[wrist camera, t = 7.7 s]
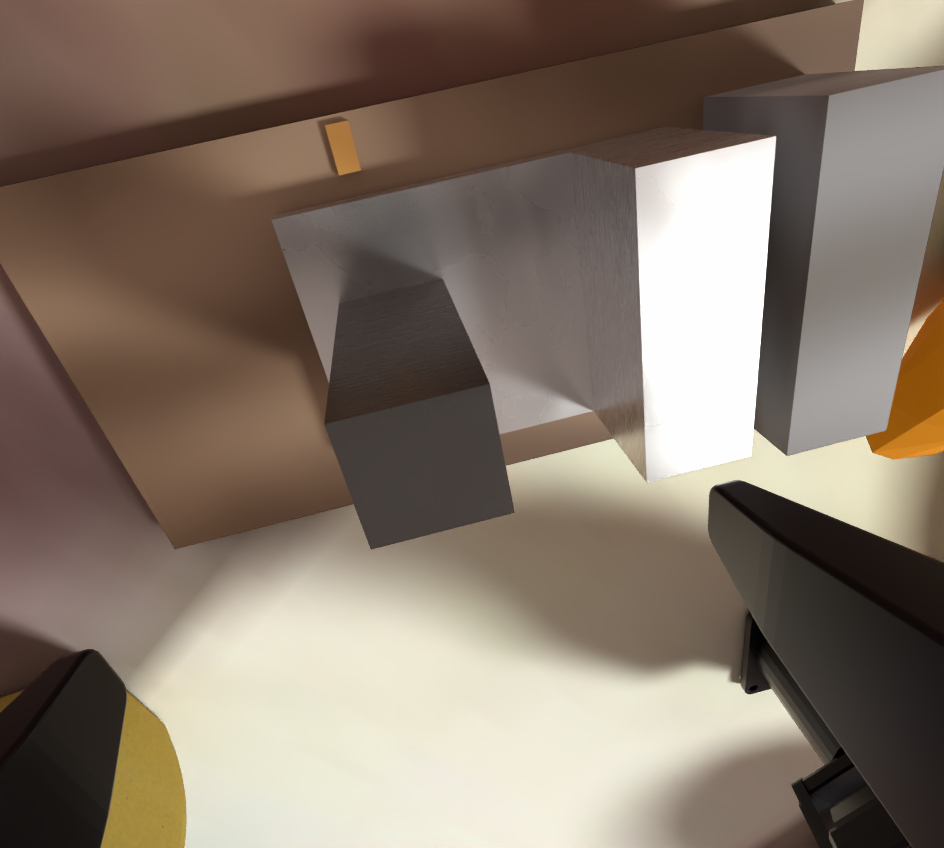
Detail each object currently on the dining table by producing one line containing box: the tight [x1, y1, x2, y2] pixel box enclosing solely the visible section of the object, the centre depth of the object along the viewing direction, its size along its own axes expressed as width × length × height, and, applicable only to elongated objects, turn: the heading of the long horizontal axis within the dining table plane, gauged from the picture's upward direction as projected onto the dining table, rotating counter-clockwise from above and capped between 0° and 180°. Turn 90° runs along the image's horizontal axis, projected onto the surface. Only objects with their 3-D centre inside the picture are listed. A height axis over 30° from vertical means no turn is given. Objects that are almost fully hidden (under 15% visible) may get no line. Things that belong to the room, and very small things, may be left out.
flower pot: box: [0, 689, 186, 848], centre depth 21 cm, size 9×9×9 cm
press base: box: [0, 0, 944, 549], centre depth 16 cm, size 12×24×6 cm, turn 101°
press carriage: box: [272, 127, 776, 549], centre depth 14 cm, size 8×11×8 cm
